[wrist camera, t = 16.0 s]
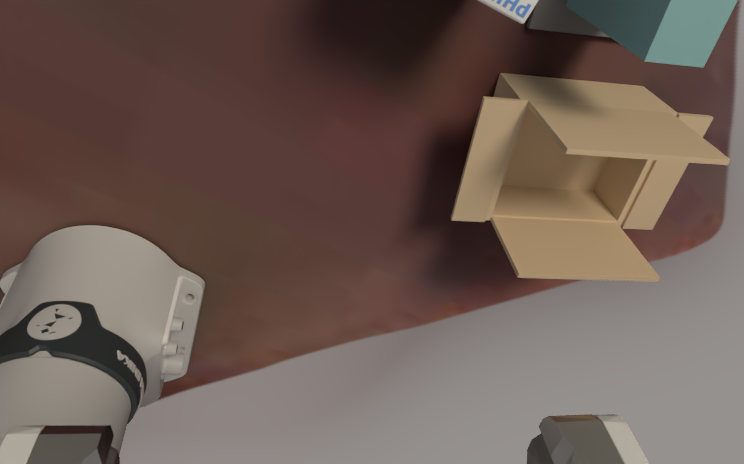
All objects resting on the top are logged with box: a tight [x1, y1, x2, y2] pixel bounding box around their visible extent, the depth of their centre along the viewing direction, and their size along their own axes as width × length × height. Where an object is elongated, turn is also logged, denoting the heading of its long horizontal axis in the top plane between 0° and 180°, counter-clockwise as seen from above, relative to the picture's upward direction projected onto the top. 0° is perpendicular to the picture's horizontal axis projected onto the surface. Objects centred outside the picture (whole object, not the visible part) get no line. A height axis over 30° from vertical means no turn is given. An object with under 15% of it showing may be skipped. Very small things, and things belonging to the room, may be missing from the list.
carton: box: [451, 73, 730, 282], centre depth 44 cm, size 11×19×13 cm, turn 82°
